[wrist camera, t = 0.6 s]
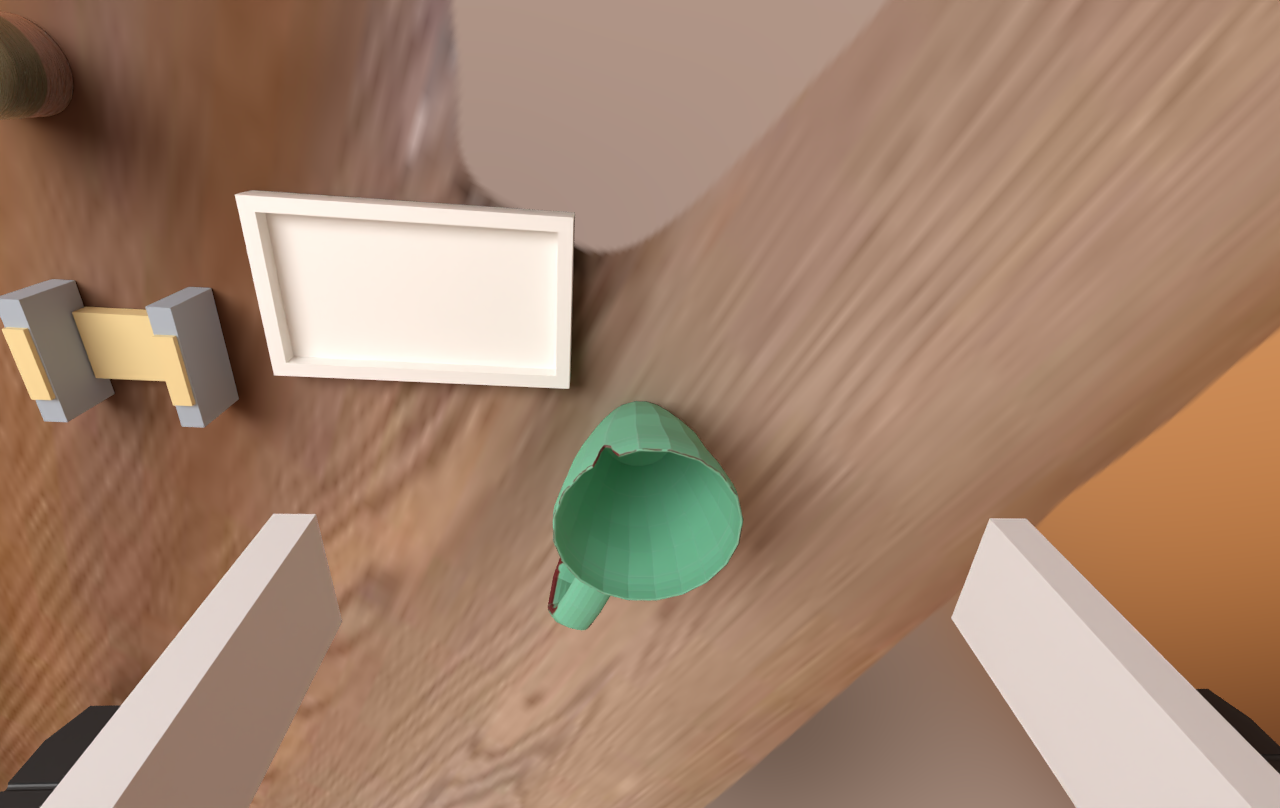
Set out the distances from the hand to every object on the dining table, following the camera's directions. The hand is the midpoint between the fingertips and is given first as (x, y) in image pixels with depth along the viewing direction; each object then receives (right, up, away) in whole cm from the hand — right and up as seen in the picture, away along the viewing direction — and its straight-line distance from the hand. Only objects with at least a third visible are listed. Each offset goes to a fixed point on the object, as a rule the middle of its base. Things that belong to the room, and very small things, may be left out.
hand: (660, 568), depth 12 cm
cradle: (-29, +7, +23) cm, 38 cm away
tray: (-13, +10, +23) cm, 28 cm away
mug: (-2, 0, +29) cm, 29 cm away
